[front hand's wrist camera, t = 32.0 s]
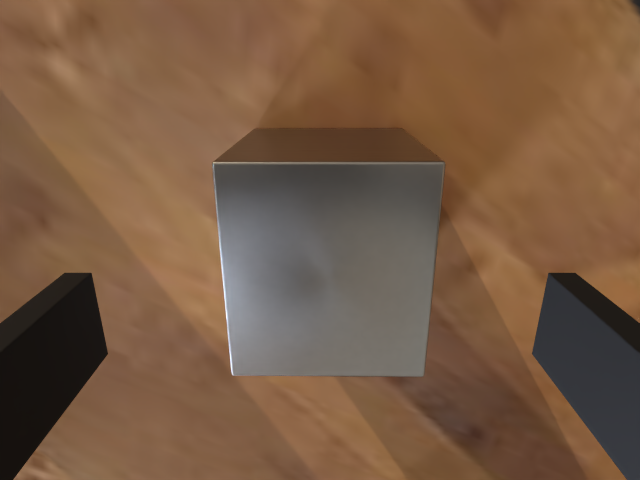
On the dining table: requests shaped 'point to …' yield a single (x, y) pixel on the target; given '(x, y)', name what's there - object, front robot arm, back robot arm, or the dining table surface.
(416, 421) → the dining table surface
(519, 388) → the dining table surface
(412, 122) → the dining table surface
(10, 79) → the dining table surface
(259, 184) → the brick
